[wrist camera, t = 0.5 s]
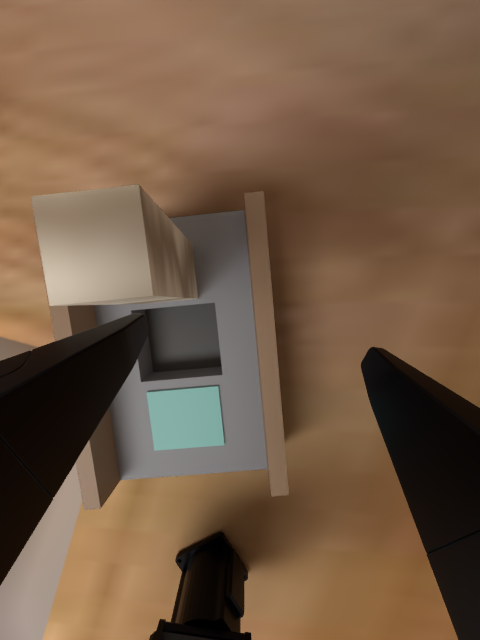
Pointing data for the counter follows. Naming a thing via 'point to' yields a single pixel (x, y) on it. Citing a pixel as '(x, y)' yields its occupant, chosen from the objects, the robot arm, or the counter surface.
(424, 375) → the robot arm
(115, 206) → the block
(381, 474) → the counter surface
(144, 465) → the channel
